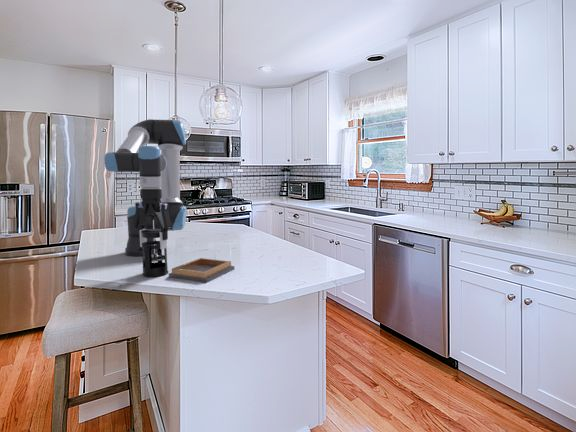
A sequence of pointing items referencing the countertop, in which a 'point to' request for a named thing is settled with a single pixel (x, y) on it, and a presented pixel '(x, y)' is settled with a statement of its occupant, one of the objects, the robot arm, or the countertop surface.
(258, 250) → the countertop surface
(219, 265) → the rectangular wooden frame
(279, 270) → the countertop surface
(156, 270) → the french press
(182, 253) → the countertop surface
